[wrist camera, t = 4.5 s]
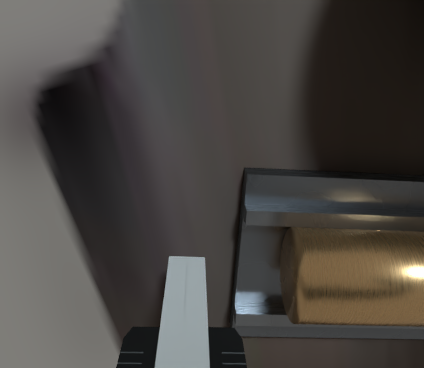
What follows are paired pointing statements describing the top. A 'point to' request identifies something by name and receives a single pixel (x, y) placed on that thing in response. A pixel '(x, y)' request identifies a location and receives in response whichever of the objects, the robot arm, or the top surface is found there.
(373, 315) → the copper tube
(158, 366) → the robot arm
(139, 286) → the top surface
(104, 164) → the top surface
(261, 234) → the grey open frame rack
